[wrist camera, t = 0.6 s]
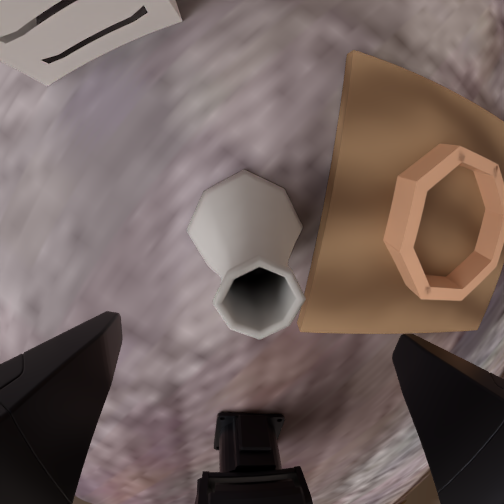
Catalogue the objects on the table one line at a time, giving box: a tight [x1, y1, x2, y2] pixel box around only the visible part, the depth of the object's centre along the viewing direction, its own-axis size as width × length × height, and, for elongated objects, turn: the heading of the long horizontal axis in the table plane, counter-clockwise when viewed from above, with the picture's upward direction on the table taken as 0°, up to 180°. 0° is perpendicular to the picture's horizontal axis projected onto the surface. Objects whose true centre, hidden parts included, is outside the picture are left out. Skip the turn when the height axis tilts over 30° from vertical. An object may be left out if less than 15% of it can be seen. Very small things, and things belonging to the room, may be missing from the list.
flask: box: [187, 170, 306, 340], centre depth 16 cm, size 7×7×10 cm
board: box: [297, 50, 504, 334], centre depth 20 cm, size 20×20×1 cm
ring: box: [383, 144, 504, 301], centre depth 19 cm, size 11×11×2 cm
